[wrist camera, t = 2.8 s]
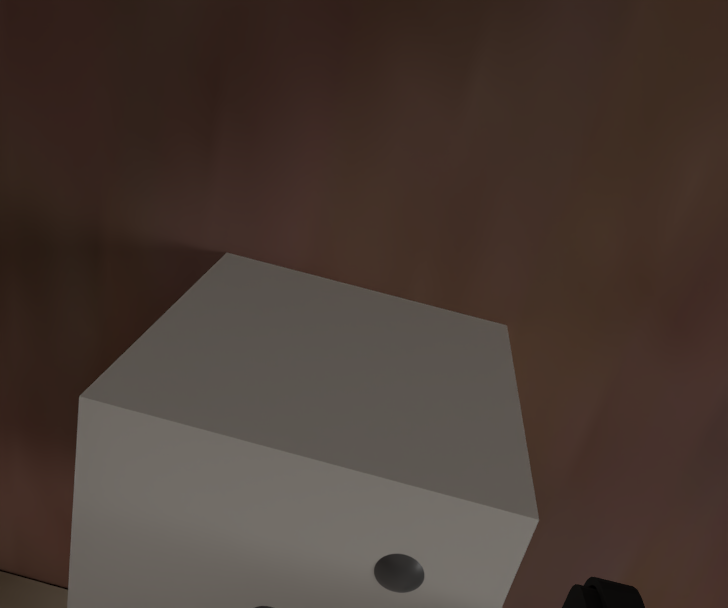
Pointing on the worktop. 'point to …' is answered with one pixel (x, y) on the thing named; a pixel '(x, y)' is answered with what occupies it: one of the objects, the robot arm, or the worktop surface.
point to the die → (301, 454)
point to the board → (29, 593)
